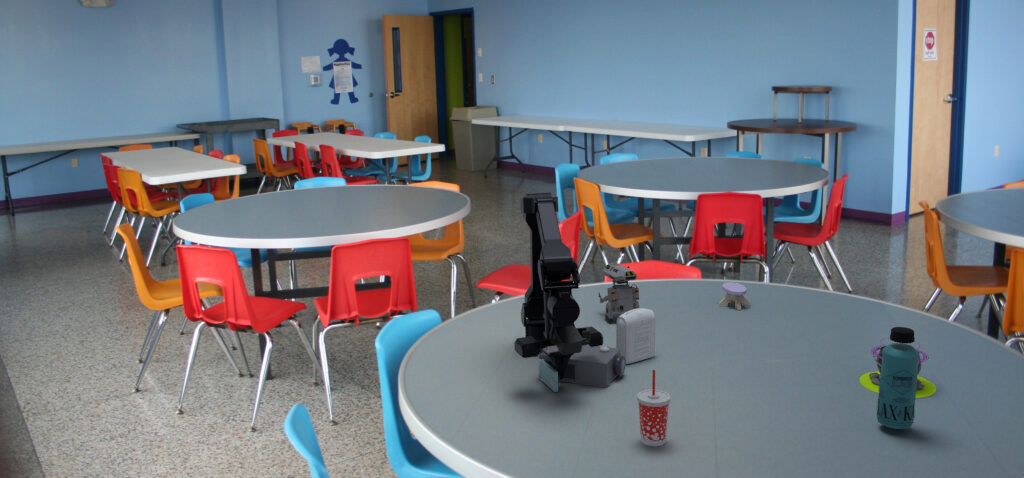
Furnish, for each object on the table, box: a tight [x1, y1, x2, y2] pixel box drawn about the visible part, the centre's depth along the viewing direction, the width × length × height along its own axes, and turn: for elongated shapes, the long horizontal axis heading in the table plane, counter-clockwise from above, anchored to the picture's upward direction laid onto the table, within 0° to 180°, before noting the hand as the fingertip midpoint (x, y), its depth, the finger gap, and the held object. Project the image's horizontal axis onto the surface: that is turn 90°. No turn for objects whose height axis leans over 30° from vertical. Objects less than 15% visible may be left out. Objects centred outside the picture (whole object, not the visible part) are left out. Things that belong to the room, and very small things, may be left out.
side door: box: [538, 358, 559, 393], centre depth 177 cm, size 9×2×5 cm, turn 21°
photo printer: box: [615, 307, 656, 365], centre depth 191 cm, size 10×4×12 cm, turn 123°
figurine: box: [598, 262, 640, 324], centre depth 222 cm, size 9×12×15 cm
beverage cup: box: [636, 369, 671, 447], centre depth 149 cm, size 6×6×14 cm
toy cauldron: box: [859, 337, 937, 400], centre depth 172 cm, size 15×15×11 cm
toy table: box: [718, 281, 751, 311], centre depth 231 cm, size 10×9×6 cm
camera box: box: [538, 345, 627, 388], centre depth 183 cm, size 18×10×6 cm, turn 65°
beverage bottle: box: [876, 326, 920, 430], centre depth 150 cm, size 6×7×20 cm
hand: (560, 378), depth 176 cm, fingers closed
